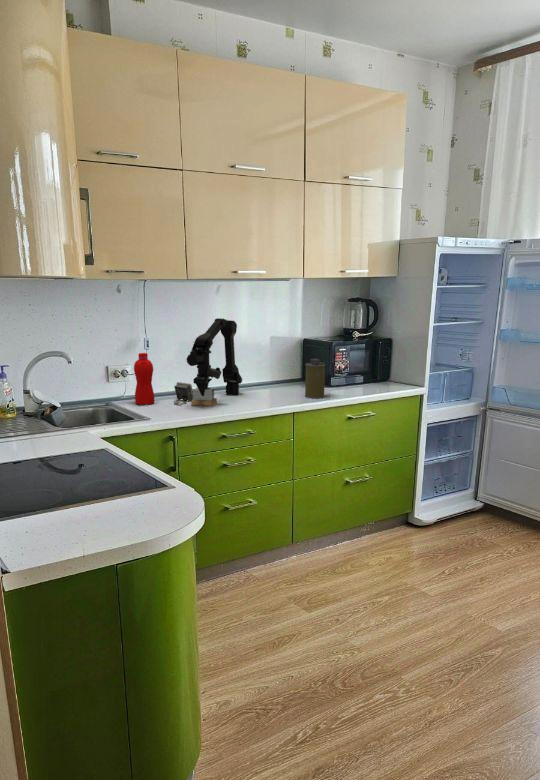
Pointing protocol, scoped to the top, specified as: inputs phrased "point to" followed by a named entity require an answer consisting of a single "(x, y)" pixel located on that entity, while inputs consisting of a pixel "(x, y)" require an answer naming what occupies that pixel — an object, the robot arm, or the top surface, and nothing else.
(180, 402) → the bolt
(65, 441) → the top surface
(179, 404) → the bolt
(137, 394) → the water bottle
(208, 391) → the housing
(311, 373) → the canister
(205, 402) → the stand
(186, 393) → the electrical switch
